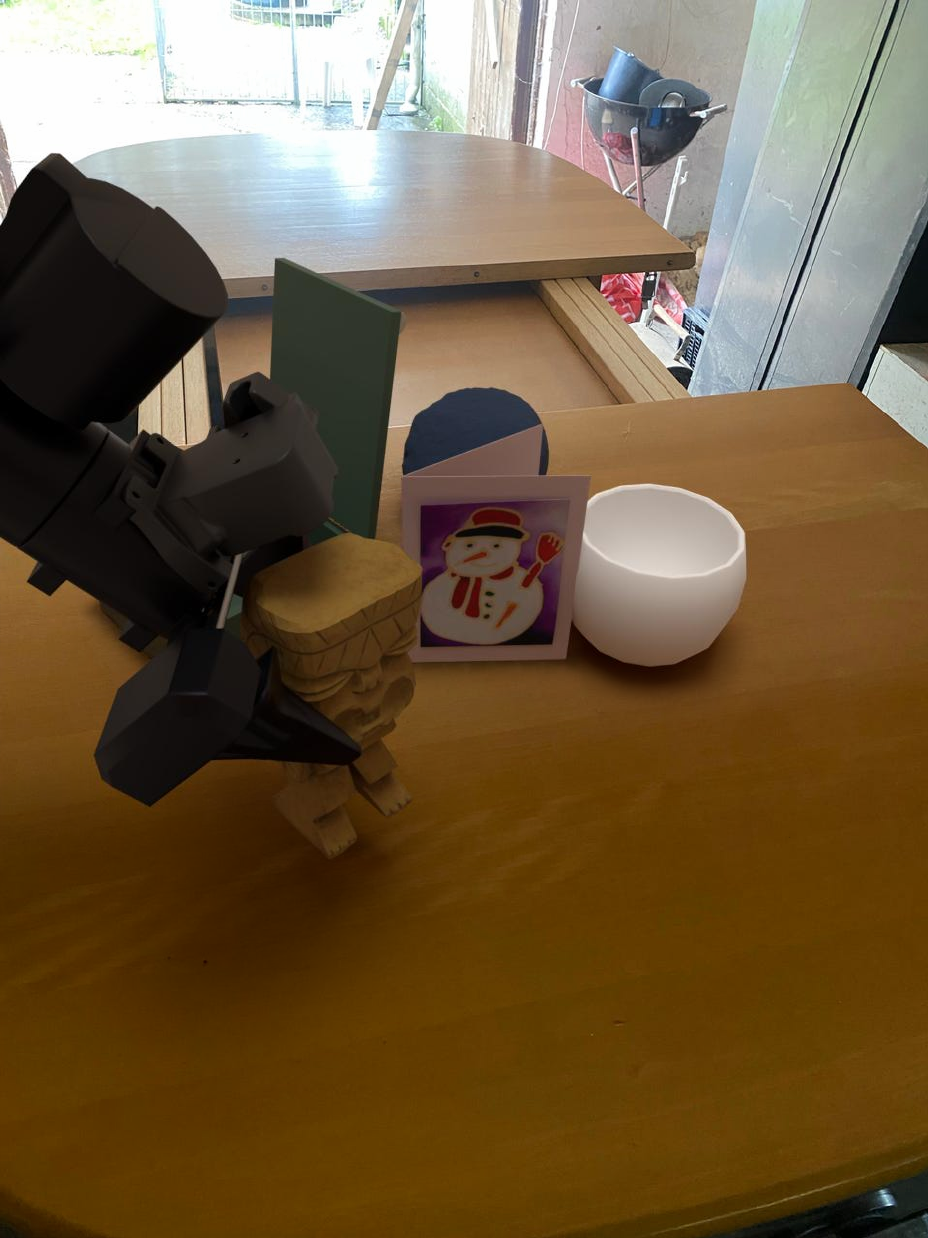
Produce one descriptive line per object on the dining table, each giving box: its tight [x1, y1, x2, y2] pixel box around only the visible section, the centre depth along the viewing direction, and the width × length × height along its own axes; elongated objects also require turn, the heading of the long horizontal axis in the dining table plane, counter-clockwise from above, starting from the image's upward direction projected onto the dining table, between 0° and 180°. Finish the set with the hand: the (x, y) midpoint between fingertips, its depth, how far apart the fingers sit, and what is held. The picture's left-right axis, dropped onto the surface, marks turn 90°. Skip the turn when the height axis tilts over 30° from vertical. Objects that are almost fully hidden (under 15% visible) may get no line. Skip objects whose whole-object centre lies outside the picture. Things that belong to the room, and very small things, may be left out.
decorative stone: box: [401, 386, 550, 476], centre depth 76 cm, size 12×12×10 cm
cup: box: [571, 483, 747, 667], centre depth 64 cm, size 12×12×10 cm
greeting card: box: [400, 423, 592, 663], centre depth 62 cm, size 11×7×15 cm, turn 94°
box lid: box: [269, 257, 407, 540], centre depth 66 cm, size 16×13×4 cm
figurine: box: [240, 532, 422, 860], centre depth 43 cm, size 7×7×15 cm
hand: (359, 694), depth 43 cm, fingers closed on figurine, 7 cm apart
